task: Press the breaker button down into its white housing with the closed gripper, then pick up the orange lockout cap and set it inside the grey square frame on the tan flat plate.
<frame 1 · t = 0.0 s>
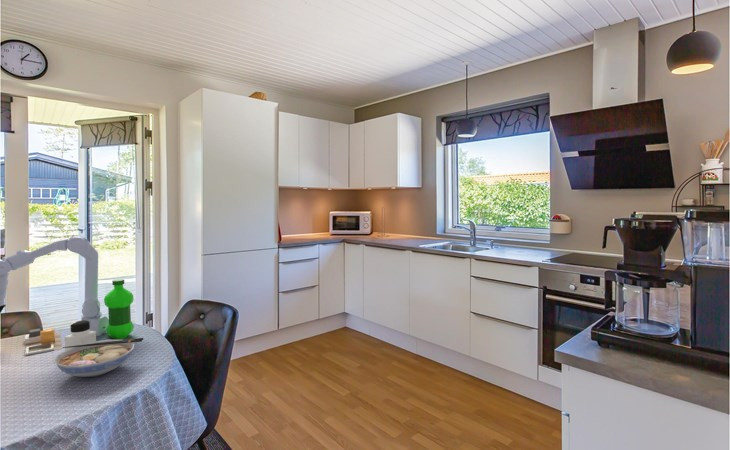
plastic bottle: (120, 337, 164), on the table
lockout cap: (48, 342, 153), point 1 cm above the table, touching tan flat plate
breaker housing: (35, 343, 156), resting on tan flat plate
ramen bowl: (96, 372, 131), on the table
breaker button: (35, 333, 156), point 4 cm above the table, slide at 0.0 cm
tan flat plate: (43, 347, 152), on the table
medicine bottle: (81, 352, 148), on the table
grey square frame: (40, 353, 146), resting on tan flat plate
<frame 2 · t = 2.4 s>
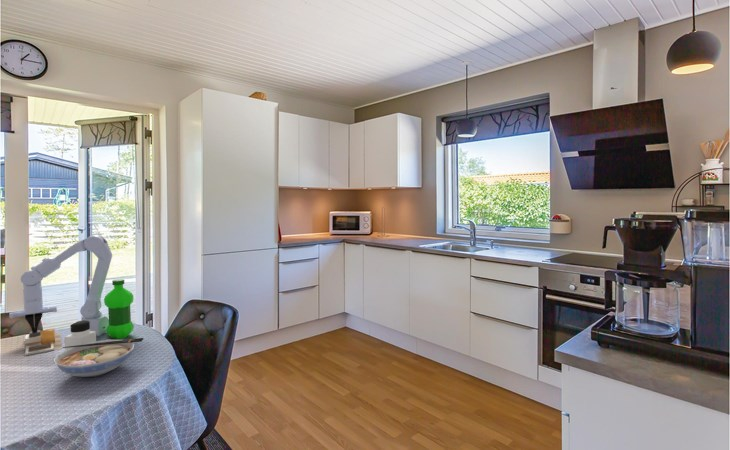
hand: (34, 331, 156), 5 cm above the table, tool pointing down, fingers closed, pressing on breaker button
breaker button: (35, 334, 156), point 4 cm above the table, slide at 0.6 cm, touching gripper
everything else where it was.
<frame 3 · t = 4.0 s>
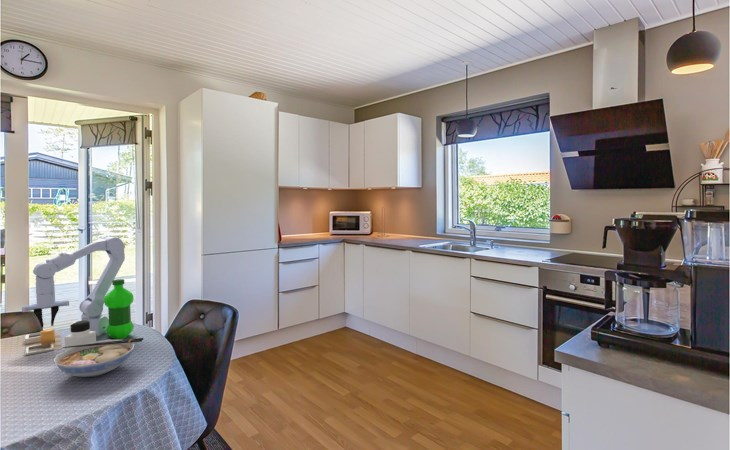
hand: (47, 326, 153), 8 cm above the table, tool pointing down, fingers closed
breaker button: (35, 337, 156), point 3 cm above the table, slide at 1.6 cm
everything else where it was.
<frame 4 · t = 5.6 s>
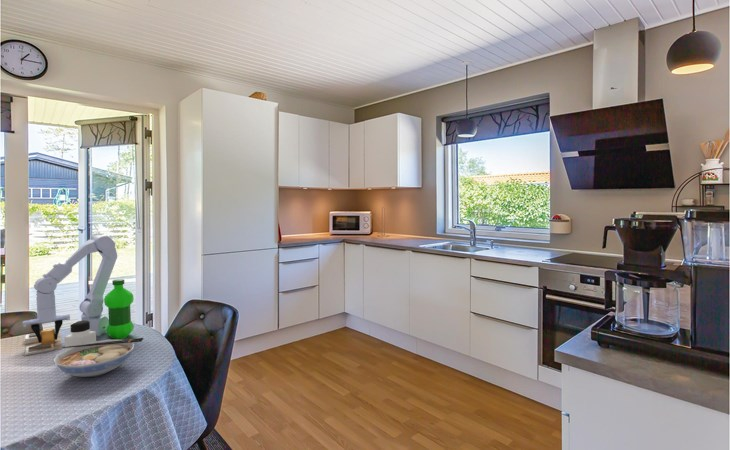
hand: (48, 340, 153), 2 cm above the table, tool pointing down, fingers closed on lockout cap, 4 cm apart
lockout cap: (48, 342, 153), point 1 cm above the table, touching tan flat plate, gripper
everything else where it was.
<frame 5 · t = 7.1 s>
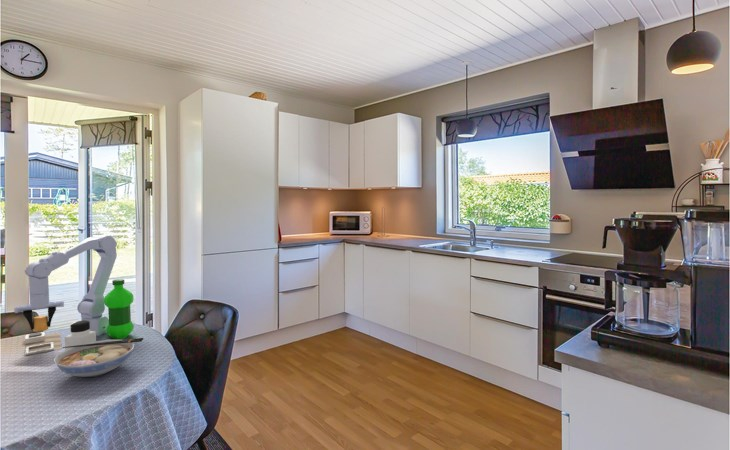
hand: (40, 327, 148), 10 cm above the table, tool pointing down, fingers closed on lockout cap, 4 cm apart
lockout cap: (40, 329, 148), point 9 cm above the table, touching gripper
everything else where it was.
when the fingers open (4 cm above the table, at t = 8.8 s): lockout cap drops 1 cm, resting on tan flat plate.
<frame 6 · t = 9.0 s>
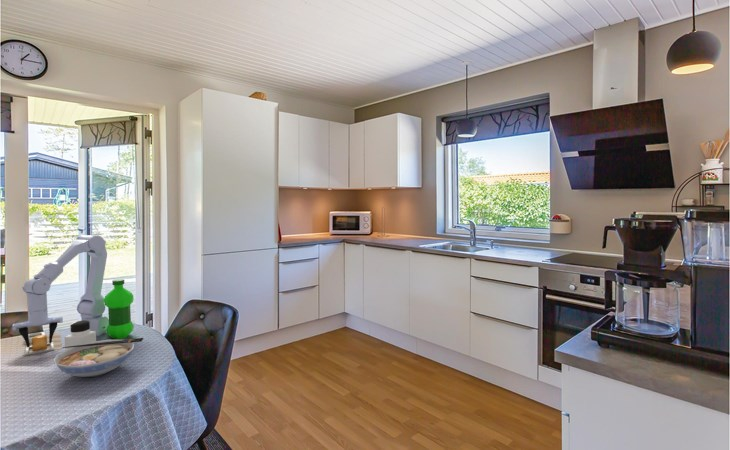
hand: (39, 344, 146), 4 cm above the table, tool pointing down, fingers open, 6 cm apart
lockout cap: (39, 349, 146), point 1 cm above the table, touching tan flat plate
everything else where it was.
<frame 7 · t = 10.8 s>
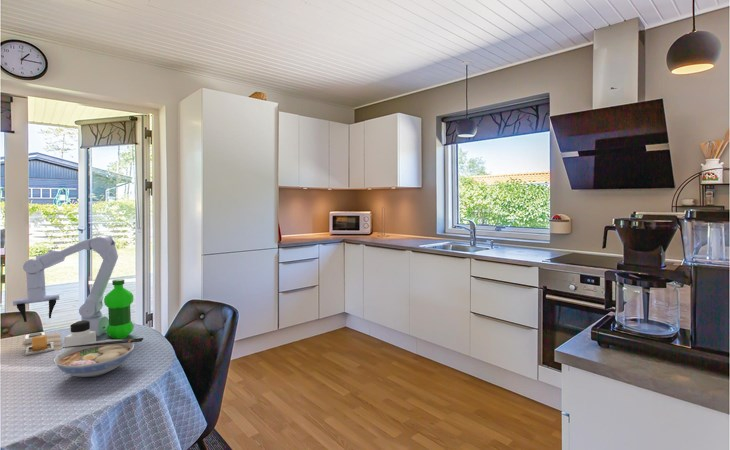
hand: (37, 319, 158), 9 cm above the table, tool pointing down, fingers open, 7 cm apart
nothing on the table moved.
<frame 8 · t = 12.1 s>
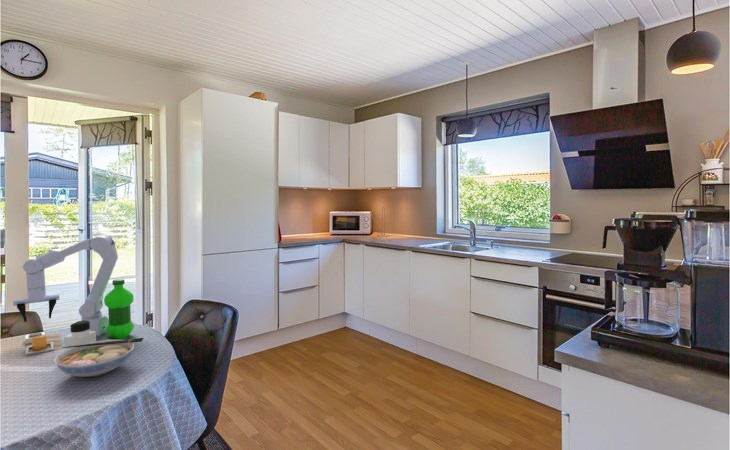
hand: (38, 319, 158), 9 cm above the table, tool pointing down, fingers open, 7 cm apart
nothing on the table moved.
at the end: breaker button slide at 1.6 cm; lockout cap 0.1 cm from the target spot, point 1.5 cm above the table; lockout cap tilted 0° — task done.
